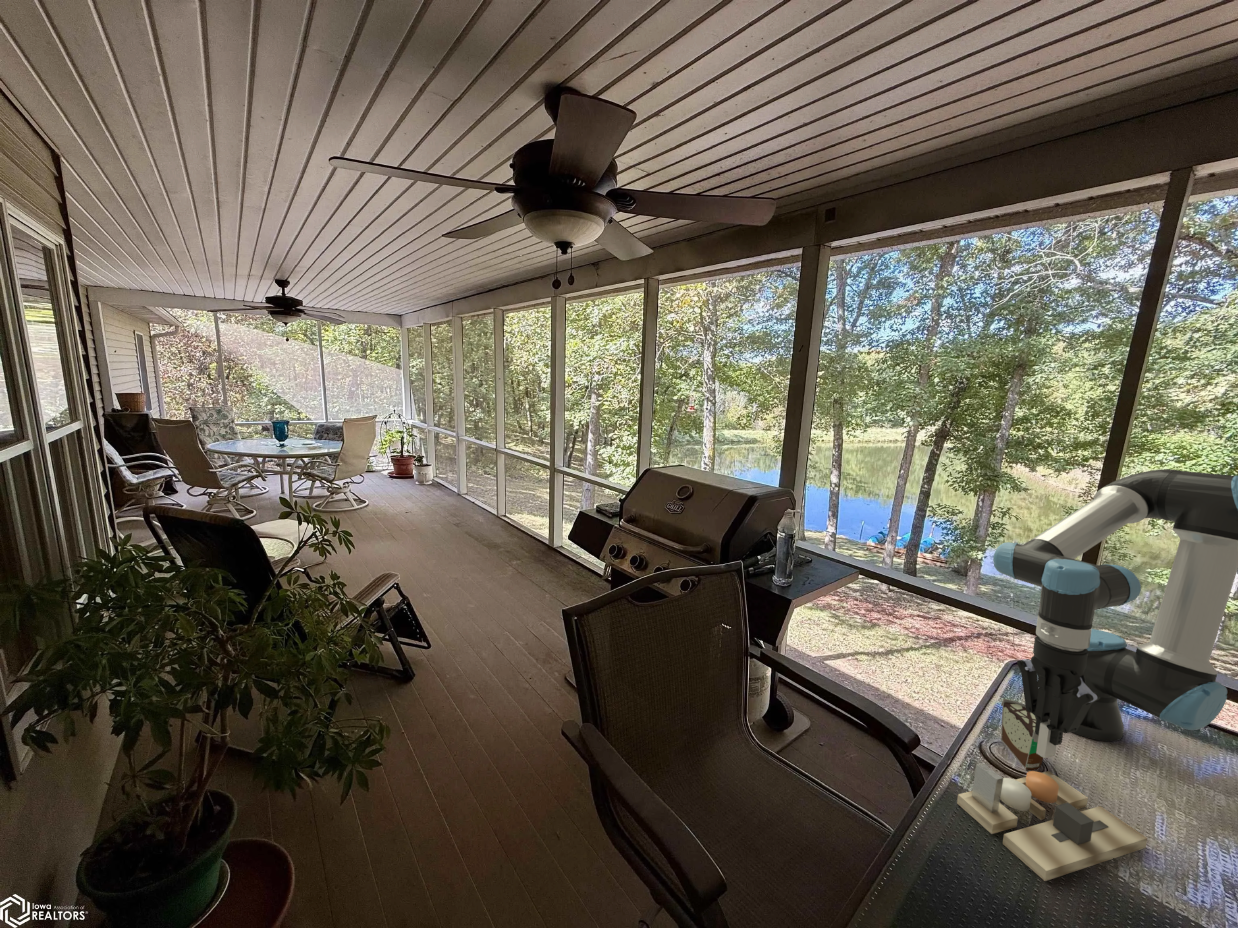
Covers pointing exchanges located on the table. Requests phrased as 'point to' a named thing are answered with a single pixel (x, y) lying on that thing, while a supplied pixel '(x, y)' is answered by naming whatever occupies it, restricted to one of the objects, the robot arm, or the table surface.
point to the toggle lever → (987, 787)
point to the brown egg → (1042, 786)
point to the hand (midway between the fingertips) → (1045, 754)
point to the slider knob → (1073, 823)
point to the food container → (1020, 734)
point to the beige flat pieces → (1058, 834)
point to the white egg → (1015, 794)
